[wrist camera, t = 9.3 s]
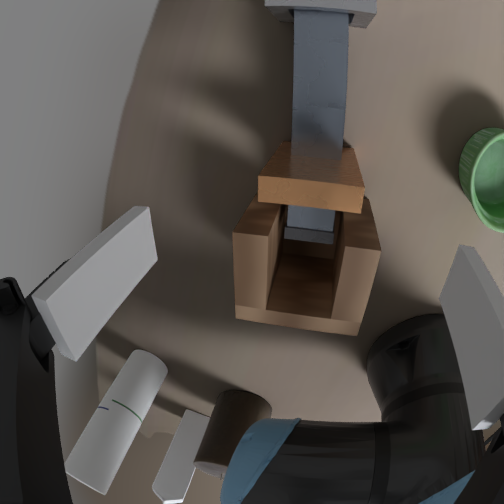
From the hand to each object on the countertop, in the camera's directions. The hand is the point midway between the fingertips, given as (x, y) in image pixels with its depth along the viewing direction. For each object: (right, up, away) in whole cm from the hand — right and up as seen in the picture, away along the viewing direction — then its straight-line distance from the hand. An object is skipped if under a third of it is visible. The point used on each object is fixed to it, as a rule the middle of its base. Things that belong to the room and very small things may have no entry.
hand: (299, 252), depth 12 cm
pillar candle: (-3, -26, +38) cm, 46 cm away
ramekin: (+20, +8, +9) cm, 24 cm away
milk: (-13, -34, +45) cm, 58 cm away
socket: (+4, +2, +17) cm, 18 cm away
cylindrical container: (-20, -19, +38) cm, 47 cm away
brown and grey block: (+4, +12, +11) cm, 17 cm away
